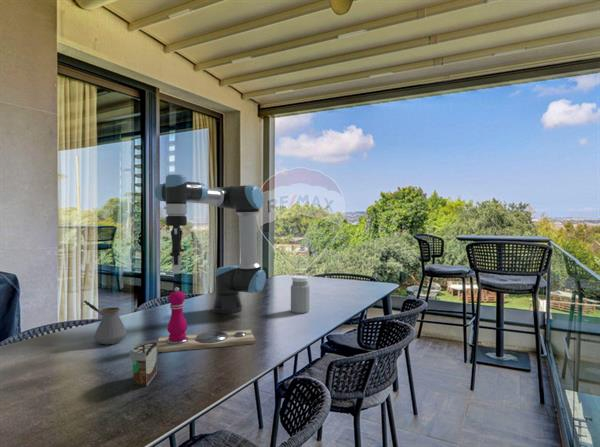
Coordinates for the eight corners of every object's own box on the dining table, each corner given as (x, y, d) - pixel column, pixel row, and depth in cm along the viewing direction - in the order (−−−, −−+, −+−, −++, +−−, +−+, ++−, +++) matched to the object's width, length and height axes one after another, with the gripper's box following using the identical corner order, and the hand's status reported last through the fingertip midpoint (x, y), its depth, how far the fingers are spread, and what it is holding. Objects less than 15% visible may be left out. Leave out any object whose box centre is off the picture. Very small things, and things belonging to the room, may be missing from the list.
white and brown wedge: (138, 371, 118) (137, 340, 117) (158, 370, 118) (157, 339, 118) (122, 389, 105) (122, 354, 105) (145, 388, 106) (144, 353, 106)
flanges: (196, 334, 150) (196, 332, 150) (243, 330, 155) (243, 328, 155) (196, 344, 138) (196, 342, 138) (247, 339, 143) (247, 337, 143)
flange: (166, 338, 145) (166, 337, 145) (188, 336, 147) (188, 335, 147) (165, 345, 137) (165, 343, 137) (187, 343, 139) (187, 341, 139)
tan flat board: (159, 340, 147) (159, 336, 147) (250, 332, 157) (250, 329, 157) (155, 353, 133) (155, 348, 133) (255, 343, 143) (255, 339, 143)
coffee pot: (133, 339, 148) (133, 302, 148) (108, 348, 138) (107, 308, 138) (96, 332, 157) (96, 297, 157) (70, 341, 147) (70, 303, 146)
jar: (287, 312, 189) (287, 277, 189) (295, 308, 198) (295, 274, 198) (305, 314, 186) (305, 278, 185) (312, 310, 195) (312, 275, 194)
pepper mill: (181, 342, 138) (180, 289, 137) (163, 341, 139) (162, 288, 139) (190, 336, 145) (189, 285, 145) (173, 335, 146) (173, 285, 146)
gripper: (168, 215, 152) (168, 266, 153) (163, 215, 128) (164, 276, 129) (187, 215, 154) (187, 266, 155) (185, 215, 130) (186, 275, 131)
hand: (177, 271), depth 142 cm, fingers open, 13 cm apart
